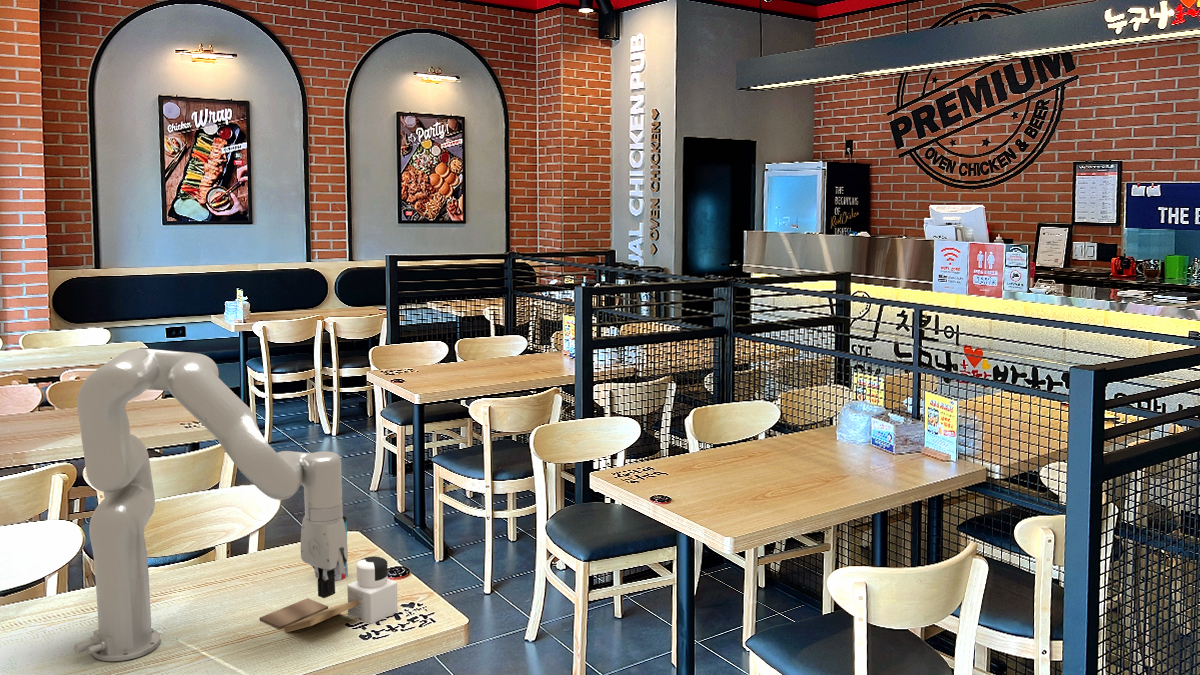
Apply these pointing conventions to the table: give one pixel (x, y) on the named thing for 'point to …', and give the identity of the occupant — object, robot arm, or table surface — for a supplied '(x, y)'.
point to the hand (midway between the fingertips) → (326, 595)
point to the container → (372, 591)
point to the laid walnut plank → (293, 613)
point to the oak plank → (321, 616)
